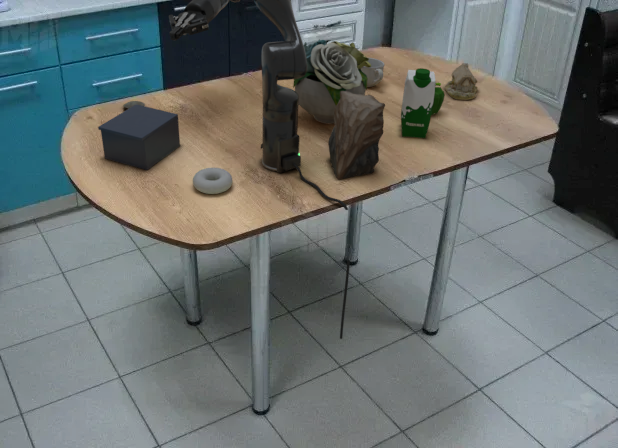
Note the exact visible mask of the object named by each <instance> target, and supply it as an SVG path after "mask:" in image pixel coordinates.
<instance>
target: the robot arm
mask: <svg viewBox="0 0 618 448" xmlns="http://www.w3.org/2000/svg"><path fill="white" fill-rule="evenodd" d="M230 1H231V2H233V3H239V2H240V1H241V0H191V1H190V2H188V3H187V5H185V7H184V9H183V12H180V13H178V15H177V16H175V15H173V14H169V15H168V20H169V25H170V27H171V30H170V31H169V34H168V35H169V38H170V40H171V41H177V40H180V38H182V37H183V36H186V35H187V34H188V35H189V36H193V35H196V34H199V33H203V32H207V31H209V30H210V28H209V23H210V22H211V21H213V20H214V19H215V18H216V17H217V16H218V14H219V13H220V12H221V10H223V9H224V8H225V7H226V6H227V5H228V3H229V2H230ZM253 2H254V4H255V5H256V8H258V10H259V11H260V12H261V13H262V14H263V15H264V16H265V17H266V18H267V19H268V20H269V21H270V22H271V23H272V24H273V25H274V26H275V27H276V28H277V30H278V31H279V33H280V34H281V37H282V38H283V41H272V42H271V41H269V42H266V43H264V44H263V45H262V47H261V51H260V52H261V53H260V66H261V67H260V68H261V92H262V94H261V95H262V137H261V138H262V142H261V144H260V150H261V151H262V153H261V154H262V157H261V158H262V159H261V165H262V166H263V167H264V168H265V169H267V170H269V171H273V172H277V173H279V174H281V173H284V172H287V171H291V170H294V169H296V170H297V172H298V175H299V178H300V179H301V180H302V181H303V182H304V183H306V184H308V185H310V186H312V187H313V188H315V189H316V190H317V191H318V192H319V194H320V195H321V196H322V197H323V198H325V199H326V200H328V201H331V202H336V203H338V204H340V205H341V206H342V207H343V209H344V210H345V211H349V207H348V206H347V205H346V203H345V202H344V201H343V200H340V199H338V198H334V197H330V196H328V195H327V194H325V193H324V191H323V190H322V189H321V188H320V187H319V185H317V184H316V183H315V182H312V181H309V180H308V179H306V178H305V176H304V175H303V173H302V170H301V169H300V167H301V165H302V164H301V163H302V156H301V154H300V134H298V131H299V107H300V105H299V96H298V94H297V92H295V89H293V88H290V87H286V86H283V85H280V84H278V81H289V80H294V79H299V78H302V77H304V76H305V74H306V72H307V58H306V52H305V49H304V42H303V39H302V35H301V33H300V29H299V26H298V24H297V20H296V17H295V13H294V9H293V4H292V0H253ZM350 262H351V261H350V260H347V261H346V270H345V282H344V283H345V284H344V292H343V300H342V310H341V319H340V329H339V330H340V331H339V339H340V340H342V339H343V336H344V335H343V334H344V323H345V322H344V321H345V314H346V303H347V295H348V287H349V277H350V265H351V263H350Z"/></svg>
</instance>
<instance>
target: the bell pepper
mask: <svg viewBox="0 0 618 448" xmlns="http://www.w3.org/2000/svg"><path fill="white" fill-rule="evenodd" d="M441 85H442V83H441V82H436V87H435V94H434V101H433V107H432V113H431V116H434V115H437V114H438V113H439V112H440V110H441V108H442V106H443V103H444V100H445V95H446V94H445V91H444V90H443V89H442V87H441Z"/></svg>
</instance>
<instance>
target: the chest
mask: <svg viewBox="0 0 618 448" xmlns="http://www.w3.org/2000/svg"><path fill="white" fill-rule="evenodd" d="M100 136H101V141H102V150H103V157H104V159H105V160H108V161H113V162H116V163H120V164H124V165H127V166H131V167H135V168H138V169H142V170H145V171H148V170H149V169H151V168H152V167H154V166H155V165H156V164H159V162H161V161H162V160H163V159H165V158H166V157H167V156H169V155H170V154H171V153H173V152H175V150H177V149H178V148H179V147H181V139H180V125H179V116H178V117H177V118H176V119H174V120H173V121H171V122H170V123H168V124H167V125H165V126H164V127H162V128H161V129H159V130H158V131H156V132H155V133H153V134H152V135H150V136H149V137H147V138H146V139H144V140H143V141H141V140H137V139H133V138H129V137H125V136H121V135H118V134H114V133H110V132H106V131H102V130H100Z"/></svg>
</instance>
